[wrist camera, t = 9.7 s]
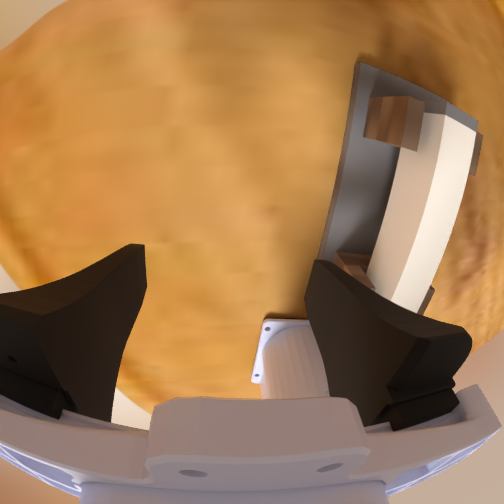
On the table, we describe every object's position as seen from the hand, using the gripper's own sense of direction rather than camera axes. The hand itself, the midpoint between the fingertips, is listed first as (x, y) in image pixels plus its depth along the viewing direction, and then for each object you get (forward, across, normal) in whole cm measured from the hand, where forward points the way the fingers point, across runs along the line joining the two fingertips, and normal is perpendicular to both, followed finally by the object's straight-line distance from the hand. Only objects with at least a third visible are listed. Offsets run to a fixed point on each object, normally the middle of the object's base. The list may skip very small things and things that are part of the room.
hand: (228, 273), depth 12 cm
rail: (+6, -12, -2) cm, 14 cm away
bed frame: (+9, -12, -2) cm, 15 cm away
